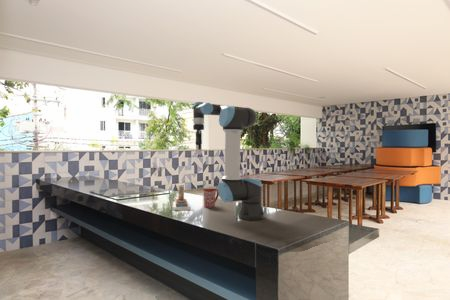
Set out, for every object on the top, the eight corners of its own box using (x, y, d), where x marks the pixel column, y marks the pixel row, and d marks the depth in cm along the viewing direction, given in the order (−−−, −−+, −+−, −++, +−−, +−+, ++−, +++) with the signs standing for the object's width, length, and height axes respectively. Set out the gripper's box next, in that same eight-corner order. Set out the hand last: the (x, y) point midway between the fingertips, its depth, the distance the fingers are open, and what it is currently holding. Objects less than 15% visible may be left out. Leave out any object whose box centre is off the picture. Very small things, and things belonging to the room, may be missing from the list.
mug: (208, 208, 202) (208, 188, 202) (200, 206, 209) (200, 187, 209) (222, 206, 210) (222, 187, 210) (214, 204, 217) (214, 186, 217)
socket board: (188, 203, 220) (188, 198, 220) (190, 209, 198) (190, 203, 198) (173, 204, 218) (173, 198, 218) (173, 210, 196) (173, 204, 196)
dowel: (183, 202, 216) (183, 185, 216) (183, 203, 212) (184, 186, 212) (178, 202, 215) (178, 185, 215) (178, 203, 211) (178, 186, 211)
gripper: (192, 125, 223) (191, 153, 224) (194, 122, 199) (194, 154, 199) (202, 125, 225) (202, 153, 225) (206, 122, 200) (205, 154, 200)
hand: (198, 154), depth 212 cm, fingers open, 13 cm apart
